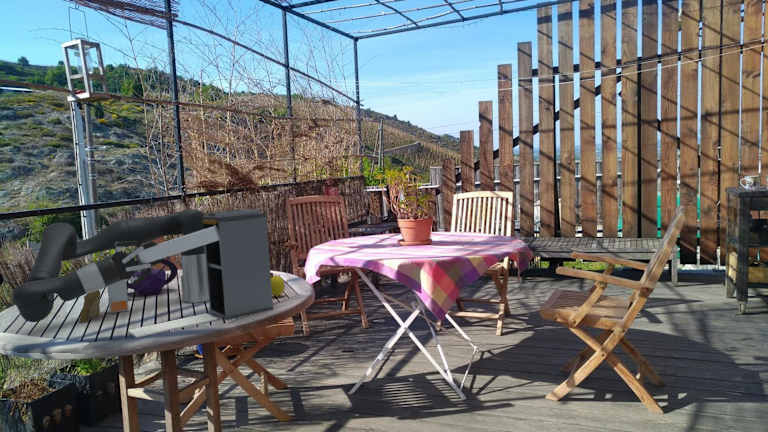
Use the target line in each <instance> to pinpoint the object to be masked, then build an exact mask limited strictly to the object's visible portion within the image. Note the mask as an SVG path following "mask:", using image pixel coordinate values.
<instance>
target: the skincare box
mask: <svg viewBox="0 0 768 432" xmlns="http://www.w3.org/2000/svg"><path fill="white" fill-rule="evenodd" d="M126 281H127V280H121V281H119V282H116V283H114V284H111V285H109V286H107V287H106V288H107V296H108V297H107V299H108V307H109V308H108V309H109V314H113V313H121V312H129V310H130V309H129V308H130V307H129V300H128V299H129V298H128V297H129V296H127V285H126Z"/></svg>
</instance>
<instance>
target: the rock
mask: <svg viewBox="0 0 768 432" xmlns="http://www.w3.org/2000/svg"><path fill="white" fill-rule="evenodd" d="M83 298H84V299H83V300H84V302H83V305H82V306H83V307H82V308H81V312H80V315H79V316H80V317H79V320H78V322H79V323H86V322H88V321H91V320H93V319H94V318H97V317H98V316H100V315H101V309H100V308H101V307H100V304H101V291H100V290H97V291H94V292H91V293H88V294H85V295H83Z"/></svg>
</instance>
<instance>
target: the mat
mask: <svg viewBox="0 0 768 432" xmlns="http://www.w3.org/2000/svg"><path fill="white" fill-rule="evenodd" d="M217 320H219V319H218V318H217V317H215V316H213V315H211V314H209V313H207V312H206V313H202V314H197V315H193V316H188V317H183V318H179V319H174V320H173V319H172V320H169V321H165V322H160V323H157V324H151V325H146V326H141V327H138V328H137V327H136V328H133V329H128V330H127V332H128V333H129V334H131V335H132V336H133V337H135V338H137V339H138V338H141V337H145V336H146V337H147V336H151V335H155V334H158V333H164V332H169V331H173V330H177V329H181V328H186V327H191V326H195V325H199V324H204V323H208V322H211V321H212V322H213V321H217Z"/></svg>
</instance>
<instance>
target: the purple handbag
mask: <svg viewBox="0 0 768 432" xmlns="http://www.w3.org/2000/svg"><path fill="white" fill-rule="evenodd" d="M150 242H152V241H150ZM165 258H166V259H165ZM165 258H163V259H162V262H161V263H160V264H163V266H162V267H161V268H160V269H156V268H155V269H153V268H151V274H150V275H148V276H147V277H146V278H145V279H144V280H143V281H141V282H140V283H139V284H138V285H137V286H134V285H133V284H132V283H131V282H128V281H127V280H126V285H127V297H131V296H133V295H135V294H138V295H139V296H152V295H157V294H159V293H160V292H161V291H162V289H164V287H165V286H166V285H168V284H170V283H172V281H174V279H175V278H176V277H177V275H178V273H179V272H178V270H179V269H178V267H177V265H176V264H175V263H174V262H172V261H170V259H171V256H168V257H165ZM135 262H136V263H137V264H139V263H138V261H137V259H136V260H135ZM165 267H167V268H169V270H170V275H169V276H168V277H166V276H167V273H166V270H165V269H164V268H165ZM144 271H145V268H144V269H141V270H139V271H135V272H134V274H133V275H132V278H133V277H138V276H139V275H140V274H142V273H143V272H144ZM129 289H130V290H133V292H128V290H129Z"/></svg>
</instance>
